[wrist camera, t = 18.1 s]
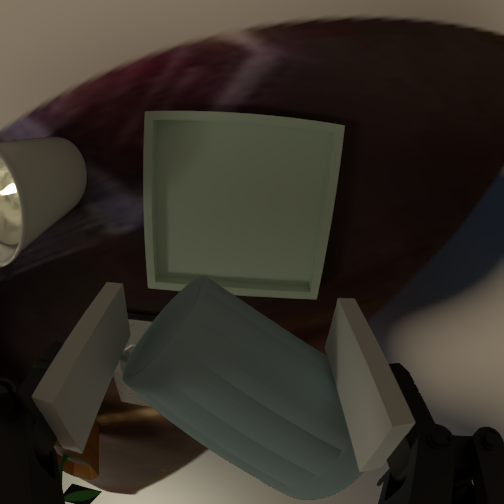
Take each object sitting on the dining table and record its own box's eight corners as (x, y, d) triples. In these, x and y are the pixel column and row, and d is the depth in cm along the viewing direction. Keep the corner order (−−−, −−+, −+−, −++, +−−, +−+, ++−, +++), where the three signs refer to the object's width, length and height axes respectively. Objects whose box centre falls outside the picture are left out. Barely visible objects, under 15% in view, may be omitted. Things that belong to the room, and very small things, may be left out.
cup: (254, 223, 12) (391, 361, 15) (165, 294, 17) (289, 390, 20) (157, 397, 7) (374, 499, 9) (91, 406, 11) (255, 493, 14)
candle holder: (77, 113, 25) (-3, 120, 14) (107, 201, 29) (43, 248, 18) (14, 153, 26) (-62, 178, 15) (42, 230, 30) (-23, 279, 19)
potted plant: (106, 392, 40) (50, 565, 13) (136, 452, 48) (109, 584, 20) (22, 374, 40) (-47, 505, 13) (61, 435, 48) (21, 548, 20)
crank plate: (123, 395, 40) (121, 402, 39) (102, 309, 34) (98, 315, 33) (202, 406, 41) (201, 413, 40) (199, 320, 35) (198, 327, 33)
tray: (153, 277, 32) (148, 288, 30) (152, 111, 26) (144, 111, 24) (312, 288, 33) (316, 299, 31) (337, 124, 26) (344, 125, 24)
